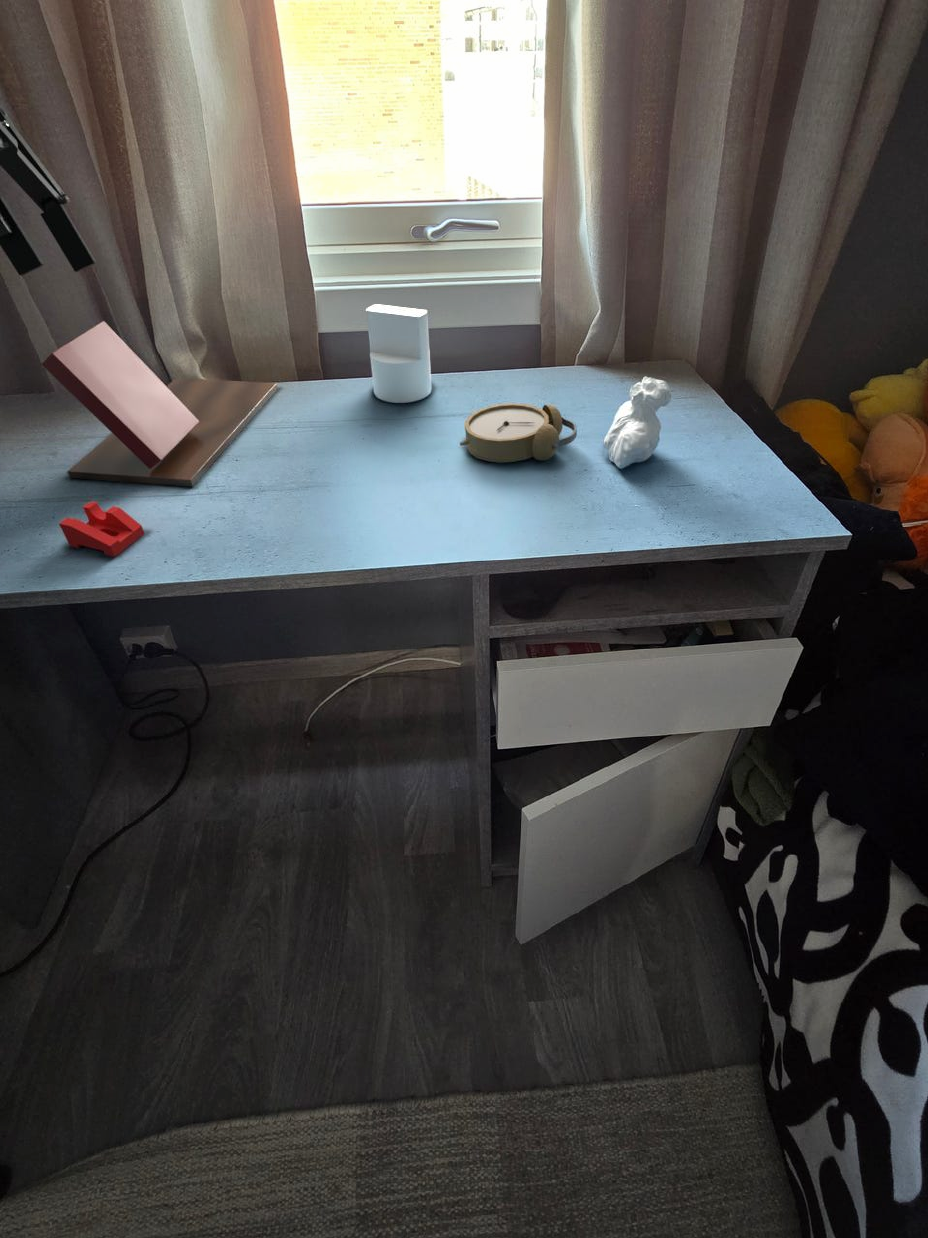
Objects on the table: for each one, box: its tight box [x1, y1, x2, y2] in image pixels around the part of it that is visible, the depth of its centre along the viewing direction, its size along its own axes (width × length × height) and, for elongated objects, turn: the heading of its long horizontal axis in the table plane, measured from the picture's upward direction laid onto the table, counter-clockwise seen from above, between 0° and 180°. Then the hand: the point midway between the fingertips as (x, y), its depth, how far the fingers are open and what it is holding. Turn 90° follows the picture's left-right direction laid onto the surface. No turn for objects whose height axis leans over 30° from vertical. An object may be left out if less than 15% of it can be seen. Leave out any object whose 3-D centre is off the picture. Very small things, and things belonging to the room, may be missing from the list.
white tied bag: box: [603, 376, 672, 470], centre depth 88 cm, size 12×8×11 cm
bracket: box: [58, 500, 145, 558], centre depth 77 cm, size 6×5×3 cm
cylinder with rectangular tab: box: [365, 303, 432, 404], centre depth 104 cm, size 9×9×12 cm
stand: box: [67, 377, 278, 488], centre depth 99 cm, size 17×30×1 cm, turn 171°
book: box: [41, 320, 199, 469], centre depth 88 cm, size 2×11×16 cm
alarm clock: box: [459, 402, 578, 463], centre depth 92 cm, size 11×5×15 cm
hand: (61, 268), depth 78 cm, fingers open, 13 cm apart
